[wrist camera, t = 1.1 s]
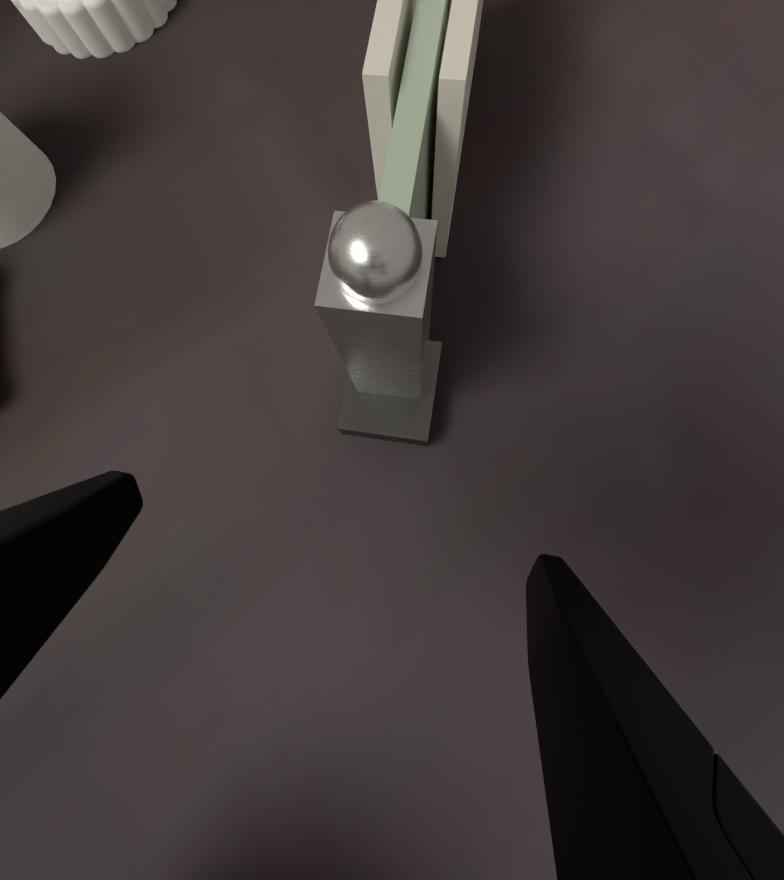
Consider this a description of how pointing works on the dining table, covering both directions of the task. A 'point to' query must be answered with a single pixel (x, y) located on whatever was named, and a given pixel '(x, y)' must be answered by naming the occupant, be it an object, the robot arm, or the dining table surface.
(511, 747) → the dining table surface
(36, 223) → the base with upright slab
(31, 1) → the mooncake
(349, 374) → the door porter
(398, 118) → the door panel
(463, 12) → the white slotted block
